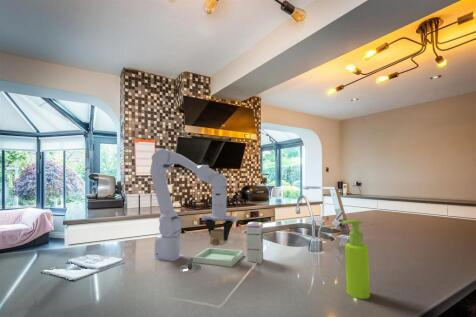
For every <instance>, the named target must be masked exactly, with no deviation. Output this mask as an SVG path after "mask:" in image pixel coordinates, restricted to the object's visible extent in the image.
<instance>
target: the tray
mask: <svg viewBox="0 0 476 317" xmlns="http://www.w3.org/2000/svg"><path fill="white" fill-rule="evenodd" d="M243 257H244V250H237V249H236V250H235V249H225V248H216V247H208V248H205V249H204V250H203V251H201V252H199V253H197V254H196V255H194V256H192V263H198V264H206V265H214V266H222V267H231V268H232V267H233V266H234V265H235V264H236V263H237V262H238V261H239V260H240V259H242V258H243Z"/></svg>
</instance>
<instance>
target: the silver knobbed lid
mask: <svg viewBox="0 0 476 317" xmlns="http://www.w3.org/2000/svg"><path fill="white" fill-rule="evenodd" d="M201 269H202V266H201V265H198V264H195V263H194V264H193V257H188V258H187V264H184V265H181V266H179V267H178V269H177V271H178V272H181V273H188V274H189V273H196V272H198V271H200V270H201Z"/></svg>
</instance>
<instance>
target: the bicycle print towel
mask: <svg viewBox="0 0 476 317" xmlns="http://www.w3.org/2000/svg"><path fill="white" fill-rule="evenodd" d="M70 263H71V264H74V265H77V266H82V267H81V268H80V269H81V270H65V269H53V270H47V269H44V270H42V271H44V272H50V273H52V274H55V275H59V276H61V277H65V278H66V279H65V280H67V278H68V279H69V280H76V281H78V280H77V279H79V280H81V279H84V278H86V277H85V276H87V277H89V276H91V275H90V274H92V275H94V274H93V273H95V274H97V272H98V273H100V272H103V271H105V270H108V269H111V268H114V267H117V266H120V265H123V264H124V263H125V262H124V258H122V257H121V258H119V257H112V256H106V255H97V254H93V253H92V254H86V255H83V256H77V257H75V258H70V259H67V260H66V262H65V263H64V264H70ZM85 268H90V269H85ZM102 270H103V271H102ZM99 271H100V272H99ZM88 275H89V276H88ZM83 277H84V278H83ZM80 278H81V279H80ZM69 280H68V281H69Z"/></svg>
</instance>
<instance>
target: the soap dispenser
mask: <svg viewBox="0 0 476 317" xmlns="http://www.w3.org/2000/svg"><path fill="white" fill-rule="evenodd" d="M340 223H341V224H343V225H350V224H351V225H352V227H351V228H352V231H349V232H348V234H349V242H348V243H347V242H346V243H345V244H344V254H345V257H344V258H345V284H346V294H347V295H348V296H350V297H353V298H356V299H361V300H362V299H365V300H367V299H369V298H370V297H371V288H370V287H371V286H370V285H371V284H370V264H369V259H370V258H369V246H368V245H365V244H364V239H363V233H362V232H361V231H360V225H361V224H363V222H362V220H361V221H360V220H354V219H353V220H352V219H349V220H348V219H347V220H343V221H341V222H340Z"/></svg>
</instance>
